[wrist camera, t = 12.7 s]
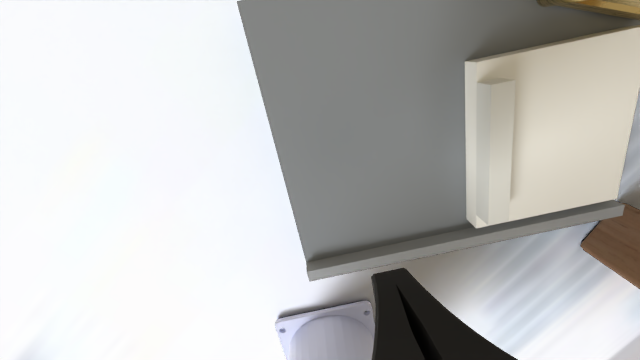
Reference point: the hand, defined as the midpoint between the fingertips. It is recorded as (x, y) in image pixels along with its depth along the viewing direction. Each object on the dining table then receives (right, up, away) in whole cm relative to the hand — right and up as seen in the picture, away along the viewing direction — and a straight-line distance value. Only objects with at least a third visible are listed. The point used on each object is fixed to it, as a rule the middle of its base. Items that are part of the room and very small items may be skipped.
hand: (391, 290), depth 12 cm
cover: (+10, +7, +6) cm, 14 cm away
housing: (+5, +8, +8) cm, 12 cm away
